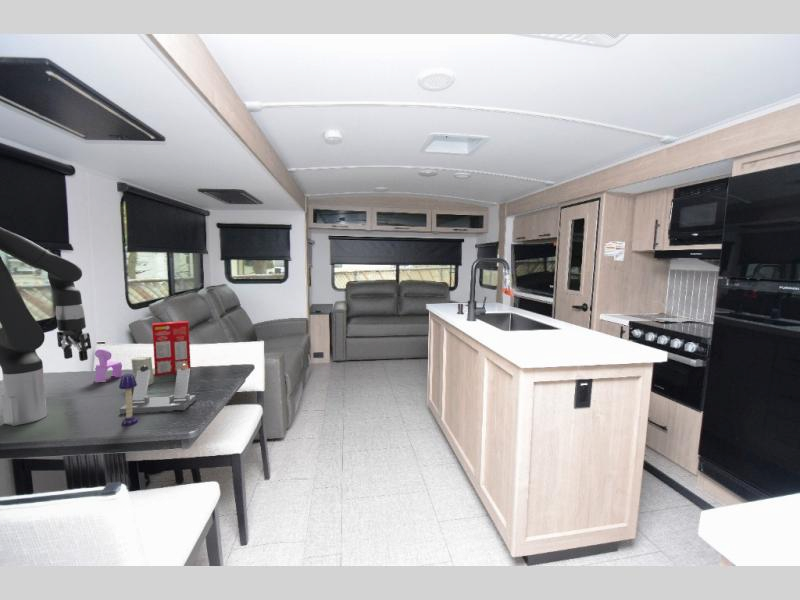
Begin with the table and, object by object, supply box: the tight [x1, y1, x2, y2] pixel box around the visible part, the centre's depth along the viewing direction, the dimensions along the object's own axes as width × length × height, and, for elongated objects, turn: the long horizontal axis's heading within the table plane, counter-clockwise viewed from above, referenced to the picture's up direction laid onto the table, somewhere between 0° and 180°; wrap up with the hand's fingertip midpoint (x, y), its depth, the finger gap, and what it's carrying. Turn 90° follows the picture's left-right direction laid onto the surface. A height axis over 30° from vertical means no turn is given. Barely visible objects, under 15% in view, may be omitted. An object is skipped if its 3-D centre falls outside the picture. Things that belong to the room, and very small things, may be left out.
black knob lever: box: [132, 366, 151, 402], centre depth 129 cm, size 3×4×13 cm, turn 100°
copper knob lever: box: [173, 364, 191, 400], centre depth 132 cm, size 3×4×13 cm, turn 100°
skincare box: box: [131, 356, 154, 386], centre depth 152 cm, size 6×4×12 cm
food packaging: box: [151, 320, 192, 377], centre depth 170 cm, size 15×5×25 cm, turn 126°
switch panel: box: [119, 393, 197, 415], centre depth 128 cm, size 10×21×4 cm, turn 100°
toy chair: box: [93, 348, 123, 383], centre depth 158 cm, size 8×9×15 cm
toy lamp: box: [118, 373, 139, 426], centre depth 114 cm, size 5×5×17 cm
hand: (76, 359), depth 128 cm, fingers open, 8 cm apart
